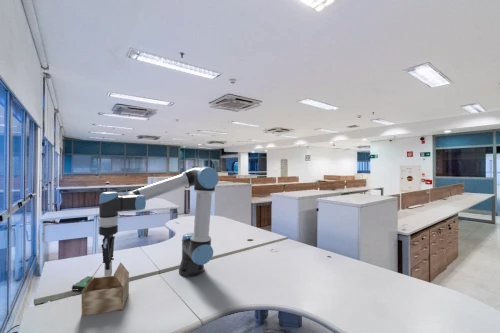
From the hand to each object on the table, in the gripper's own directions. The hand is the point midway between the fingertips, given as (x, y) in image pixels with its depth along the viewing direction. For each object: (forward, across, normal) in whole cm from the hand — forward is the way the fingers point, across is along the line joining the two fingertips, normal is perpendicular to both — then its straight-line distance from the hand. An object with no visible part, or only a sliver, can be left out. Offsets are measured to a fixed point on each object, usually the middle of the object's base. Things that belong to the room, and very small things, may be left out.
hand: (108, 275), depth 112 cm
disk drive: (+14, -20, -12) cm, 27 cm away
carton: (+13, 0, 0) cm, 13 cm away
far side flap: (+3, 0, -8) cm, 9 cm away
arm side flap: (+3, 0, +8) cm, 8 cm away
